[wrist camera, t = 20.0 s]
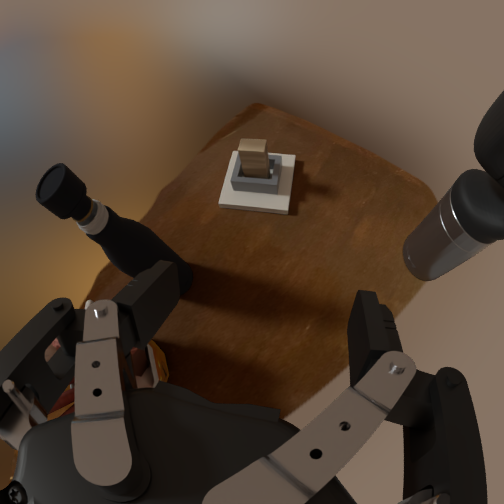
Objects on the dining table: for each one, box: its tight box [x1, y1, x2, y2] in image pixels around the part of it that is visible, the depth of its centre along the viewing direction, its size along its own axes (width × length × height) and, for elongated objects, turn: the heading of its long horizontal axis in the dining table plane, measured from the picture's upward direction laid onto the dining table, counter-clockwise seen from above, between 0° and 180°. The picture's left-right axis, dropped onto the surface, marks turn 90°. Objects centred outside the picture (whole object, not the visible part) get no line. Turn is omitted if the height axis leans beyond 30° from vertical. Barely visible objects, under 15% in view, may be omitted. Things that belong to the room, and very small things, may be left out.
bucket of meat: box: [45, 300, 169, 417], centre depth 31 cm, size 20×16×20 cm
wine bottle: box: [36, 163, 193, 295], centre depth 31 cm, size 6×6×30 cm
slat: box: [238, 139, 270, 179], centre depth 44 cm, size 2×4×9 cm, turn 80°
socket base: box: [218, 151, 295, 215], centre depth 48 cm, size 12×12×4 cm
